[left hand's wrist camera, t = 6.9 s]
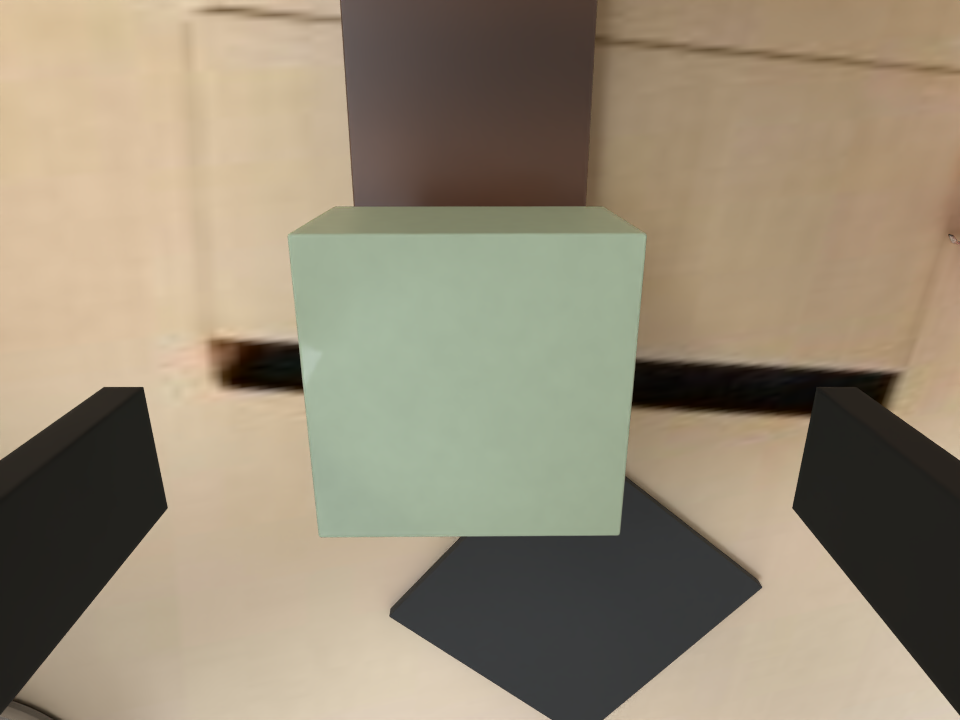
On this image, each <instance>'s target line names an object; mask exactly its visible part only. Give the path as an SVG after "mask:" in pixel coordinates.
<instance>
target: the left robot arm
mask: <svg viewBox="0 0 960 720" xmlns="http://www.w3.org/2000/svg"><path fill="white" fill-rule="evenodd" d="M167 508H168V507H167V502H166V497H165V492H164V487H163V482H162V477H161V473H160V468H159V463H158V458H157V453H156V448H155V443H154V438H153V433H152V428H151V423H150V418H149V413H148V408H147V403H146V398H145V393H144V388H143V387H103V388H102V389H101V390H99V391H98V392H96V393H95V394H94V395H92V396H91V397H89V398H88V399H87V400H85V401H84V402H82V403H81V404H79V405H78V406H77V407H75V408H74V409H72V410H71V411H70V412H68V413H67V414H65V415H64V416H62V417H61V418H60V419H58V420H57V421H55V422H54V423H53V424H51V425H50V426H48V427H47V428H45V429H44V430H43V431H41V432H40V433H38V434H37V435H36V436H34V437H33V438H31V439H30V440H29V441H27V442H26V443H24V444H23V445H21V446H20V447H19V448H17V449H16V450H14V451H13V452H12V453H10V454H9V455H7V456H6V457H4V458H3V459H2V460H0V720H53V719H52V718H50V717H48V716H46V715H45V714H43V713H41V712H39V711H37V710H35V709H32V708H30V707H28V706H25V705H23V704H20V703H17V702H15V701H12V700H13V699H14V698H15V696H16V695H17V694H18V693H19V691H20V690H21V689H22V688H23V687H24V685H25V684H26V683H27V682H28V680H29V679H30V678H31V677H32V675H33V674H34V673H35V672H36V670H37V669H38V668H39V667H40V665H41V664H42V663H43V662H44V661H45V659H46V658H47V657H48V656H49V654H50V653H51V652H52V651H53V649H54V648H55V647H56V646H57V644H58V643H59V642H60V641H61V639H62V638H63V637H64V636H65V635H66V633H67V632H68V631H69V630H70V628H71V627H72V626H73V625H74V623H75V622H76V621H77V620H78V618H79V617H80V616H81V615H82V613H83V612H84V611H85V610H86V609H87V607H88V606H89V605H90V604H91V602H92V601H93V600H94V599H95V597H96V596H97V595H98V594H99V592H100V591H101V590H102V589H103V587H104V586H105V585H106V584H107V583H108V581H109V580H110V579H111V578H112V576H113V575H114V574H115V573H116V571H117V570H118V569H119V568H120V566H121V565H122V564H123V563H124V561H125V560H126V559H127V558H128V557H129V555H130V554H131V553H132V552H133V550H134V549H135V548H136V547H137V545H138V544H139V543H140V542H141V540H142V539H143V538H144V537H145V535H146V534H147V533H148V532H149V531H150V529H151V528H152V527H153V526H154V524H155V523H156V522H157V521H158V519H159V518H160V517H161V516H162V514H163V513H164V512H165V511H166V509H167ZM792 508H793V509H794V511H795V512H796V513H797V514H798V516H799V517H800V518H801V519H802V521H803V522H804V523H805V524H806V526H807V527H808V528H809V529H810V531H811V532H812V533H813V534H814V535H815V537H816V538H817V539H818V540H819V542H820V543H821V544H822V545H823V547H824V548H825V549H826V550H827V552H828V553H829V554H830V555H831V557H832V558H833V559H834V560H835V561H836V563H837V564H838V565H839V566H840V568H841V569H842V570H843V571H844V573H845V574H846V575H847V576H848V578H849V579H850V580H851V581H852V583H853V584H854V585H855V586H856V587H857V589H858V590H859V591H860V592H861V594H862V595H863V596H864V597H865V599H866V600H867V601H868V602H869V604H870V605H871V606H872V607H873V609H874V610H875V611H876V612H877V613H878V615H879V616H880V617H881V618H882V620H883V621H884V622H885V623H886V625H887V626H888V627H889V628H890V630H891V631H892V632H893V633H894V635H895V636H896V637H897V638H898V639H899V641H900V642H901V643H902V644H903V646H904V647H905V648H906V649H907V651H908V652H909V653H910V654H911V656H912V657H913V658H914V659H915V661H916V662H917V663H918V664H919V665H920V667H921V668H922V669H923V670H924V672H925V673H926V674H927V675H928V677H929V678H930V679H931V680H932V682H933V683H934V684H935V685H936V687H937V688H938V689H939V690H940V691H941V693H942V694H943V695H944V696H945V698H946V699H947V700H948V701H949V703H950V704H951V705H952V706H953V708H954V709H955V710H956V711H957V713H958V714H959V715H960V460H958V459H957V458H956V457H954V456H953V455H951V454H950V453H948V452H947V451H946V450H944V449H943V448H941V447H940V446H939V445H937V444H936V443H934V442H933V441H931V440H930V439H929V438H927V437H926V436H924V435H923V434H922V433H920V432H919V431H917V430H916V429H915V428H913V427H912V426H910V425H909V424H907V423H906V422H905V421H903V420H902V419H900V418H899V417H898V416H896V415H895V414H893V413H892V412H890V411H889V410H888V409H886V408H885V407H883V406H882V405H881V404H879V403H878V402H876V401H875V400H873V399H872V398H871V397H869V396H868V395H866V394H865V393H864V392H862V391H861V390H859V389H858V388H857V387H817V388H816V393H815V398H814V403H813V408H812V413H811V418H810V423H809V428H808V433H807V438H806V443H805V448H804V453H803V458H802V463H801V468H800V473H799V477H798V482H797V487H796V492H795V497H794V502H793V507H792Z"/></svg>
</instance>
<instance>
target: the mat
mask: <svg viewBox="0 0 960 720" xmlns="http://www.w3.org/2000/svg"><path fill="white" fill-rule="evenodd" d="M761 588H762V586H761V584H760V583H759V581H758V580H757V579H756V578H755V577H753V576H752V575H751V574H749V573H748V572H747V571H746V570H744V569H743V568H742V567H741V566H739V565H738V564H737V563H735V562H734V561H733V560H732V559H730V558H729V557H728V556H726V555H725V554H724V553H723V552H721V551H720V550H719V549H718V548H716V547H715V546H714V545H712V544H711V543H710V542H709V541H707V540H706V539H705V538H703V537H702V536H701V535H700V534H698V533H697V532H696V531H695V530H693V529H692V528H691V527H689V526H688V525H687V524H686V523H684V522H683V521H682V520H680V519H679V518H678V517H677V516H675V515H674V514H673V513H672V512H670V511H669V510H668V509H666V508H665V507H664V506H663V505H661V504H660V503H659V502H657V501H656V500H655V499H654V498H652V497H651V496H650V495H649V494H647V493H646V492H645V491H643V490H642V489H641V488H640V487H638V486H637V485H636V484H634V483H633V482H632V481H631V480H629V479H628V478H627V477H626V476H625V482H624V493H623V504H622V515H621V526H620V534H619V535H599V536H461V537H460V538H459V539H458V540H457V541H456V542H455V543H454V545H453V546H452V547H451V548H450V549H449V550H448V551H447V552H446V553H445V554H444V555H443V556H442V557H441V558H440V559H439V560H438V561H437V562H436V563H435V564H434V565H433V566H432V567H431V568H430V569H429V570H428V571H427V572H426V573H425V574H424V575H423V576H422V577H421V578H420V579H419V580H418V581H417V582H416V583H415V584H414V585H413V586H412V587H411V588H410V590H409V591H408V592H407V593H406V594H405V595H404V596H403V597H402V598H401V599H400V600H399V601H398V602H397V603H396V604H395V605H394V606H393V607H392V608H391V609H390V615H389V616H390V617H391V618H393V619H394V620H396V621H397V622H399V623H400V624H402V625H404V626H405V627H407V628H408V629H410V630H411V631H413V632H415V633H416V634H418V635H419V636H421V637H422V638H424V639H426V640H427V641H429V642H430V643H432V644H433V645H435V646H437V647H438V648H440V649H441V650H443V651H444V652H446V653H448V654H449V655H451V656H452V657H454V658H455V659H457V660H459V661H460V662H462V663H463V664H465V665H467V666H468V667H470V668H471V669H473V670H474V671H476V672H478V673H479V674H481V675H482V676H484V677H485V678H487V679H489V680H490V681H492V682H493V683H495V684H496V685H498V686H500V687H501V688H503V689H504V690H506V691H507V692H509V693H511V694H512V695H514V696H515V697H517V698H518V699H520V700H522V701H523V702H525V703H526V704H528V705H529V706H531V707H533V708H534V709H536V710H537V711H539V712H540V713H542V714H544V715H545V716H547V717H548V718H550V719H551V720H603V719H604V718H606V717H607V716H608V715H609V714H610V713H612V712H613V711H614V710H615V709H616V708H618V707H619V706H620V705H621V704H623V703H624V702H625V701H626V700H627V699H629V698H630V697H631V696H632V695H633V694H635V693H636V692H637V691H638V690H639V689H641V688H642V687H643V686H644V685H645V684H647V683H648V682H649V681H650V680H651V679H653V678H654V677H655V676H656V675H657V674H659V673H660V672H661V671H662V670H663V669H665V668H666V667H667V666H668V665H669V664H671V663H672V662H673V661H674V660H676V659H677V658H678V657H679V656H680V655H682V654H683V653H684V652H685V651H686V650H688V649H689V648H690V647H691V646H692V645H694V644H695V643H696V642H697V641H698V640H700V639H701V638H702V637H703V636H704V635H706V634H707V633H708V632H709V631H710V630H712V629H713V628H714V627H715V626H716V625H718V624H719V623H720V622H721V621H722V620H724V619H725V618H726V617H727V616H729V615H730V614H731V613H732V612H733V611H735V610H736V609H737V608H738V607H739V606H741V605H742V604H743V603H744V602H745V601H747V600H748V599H749V598H750V597H751V596H753V595H754V594H755V593H756V592H757V591H759V590H760V589H761Z"/></svg>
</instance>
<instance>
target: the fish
mask: <svg viewBox="0 0 960 720" xmlns="http://www.w3.org/2000/svg"><path fill="white" fill-rule="evenodd" d="M949 237H950V240H951V242H952V243H956V244H960V241H957V240H956V239H955V237H954V236H953V235H950V234H949Z"/></svg>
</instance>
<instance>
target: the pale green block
mask: <svg viewBox="0 0 960 720" xmlns="http://www.w3.org/2000/svg"><path fill="white" fill-rule="evenodd" d="M646 240H647V235H646V233H644V232H643V231H641V230H639V229H638V228H636V227H635V226H633V225H631V224H630V223H628V222H627V221H625V220H624V219H622V218H620V217H619V216H617V215H616V214H614V213H612V212H611V211H609V210H608V209H606V208H604V207H602V206H532V207H333V208H332V209H330V210H328V211H327V212H325V213H323V214H322V215H320V216H318V217H317V218H315V219H313V220H311V221H310V222H308V223H306V224H305V225H303V226H301V227H300V228H298V229H296V230H295V231H293V232H291V233H290V234H288V245H289V254H290V264H291V273H292V283H293V293H294V302H295V312H296V321H297V331H298V341H299V350H300V360H301V369H302V379H303V389H304V398H305V408H306V417H307V427H308V437H309V446H310V456H311V465H312V475H313V485H314V494H315V504H316V513H317V523H318V533H319V536H320V537H443V536H599V535H619V534H620V526H621V515H622V504H623V493H624V482H625V471H626V460H627V449H628V438H629V427H630V416H631V405H632V394H633V383H634V372H635V361H636V350H637V339H638V328H639V317H640V306H641V295H642V284H643V273H644V262H645V251H646Z"/></svg>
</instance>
